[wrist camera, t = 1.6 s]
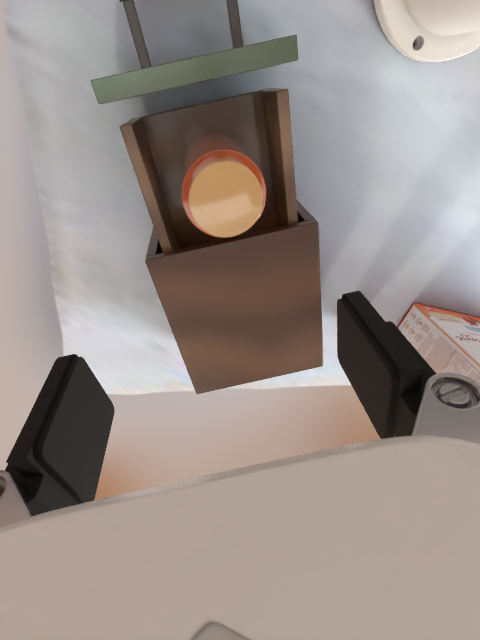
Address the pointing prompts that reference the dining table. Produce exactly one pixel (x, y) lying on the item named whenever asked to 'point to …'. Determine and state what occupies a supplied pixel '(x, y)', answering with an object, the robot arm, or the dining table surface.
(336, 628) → the robot arm
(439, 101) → the dining table surface
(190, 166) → the spice jar
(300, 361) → the cabinet
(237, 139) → the drawer
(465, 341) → the cracker box
